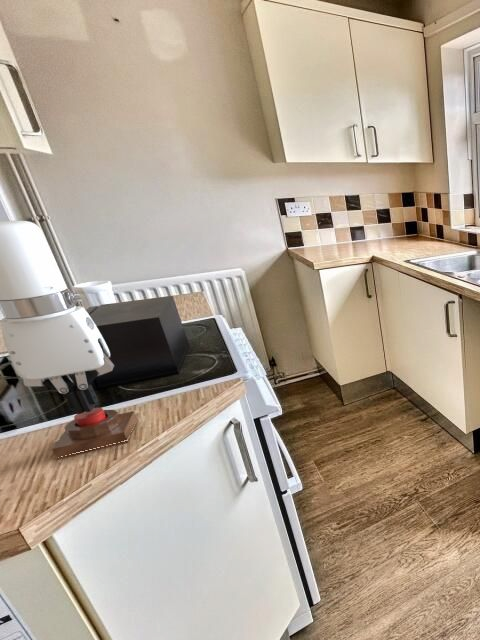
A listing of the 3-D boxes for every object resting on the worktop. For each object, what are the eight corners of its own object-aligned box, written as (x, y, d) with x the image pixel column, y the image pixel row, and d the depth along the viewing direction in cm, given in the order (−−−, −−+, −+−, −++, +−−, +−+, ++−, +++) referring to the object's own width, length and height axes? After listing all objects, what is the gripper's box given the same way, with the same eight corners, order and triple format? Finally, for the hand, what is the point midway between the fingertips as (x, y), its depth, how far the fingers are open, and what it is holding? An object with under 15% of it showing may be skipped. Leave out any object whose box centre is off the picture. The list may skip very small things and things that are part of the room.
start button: (75, 430, 70) (70, 421, 69) (82, 419, 73) (77, 411, 72) (103, 423, 71) (99, 414, 71) (109, 413, 74) (105, 405, 74)
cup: (134, 324, 130) (117, 279, 124) (118, 334, 122) (98, 286, 117) (104, 327, 128) (85, 281, 123) (85, 336, 121) (64, 288, 115)
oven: (99, 390, 90) (72, 329, 85) (122, 357, 106) (100, 304, 101) (179, 374, 97) (158, 317, 91) (189, 346, 113) (172, 295, 107)
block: (57, 460, 68) (46, 439, 67) (74, 435, 75) (64, 416, 73) (128, 442, 72) (119, 423, 71) (138, 420, 79) (130, 402, 77)
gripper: (108, 292, 71) (147, 388, 77) (-20, 307, 64) (35, 411, 71) (95, 303, 64) (138, 406, 71) (-48, 321, 58) (15, 433, 65)
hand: (87, 408), depth 71 cm, fingers closed
